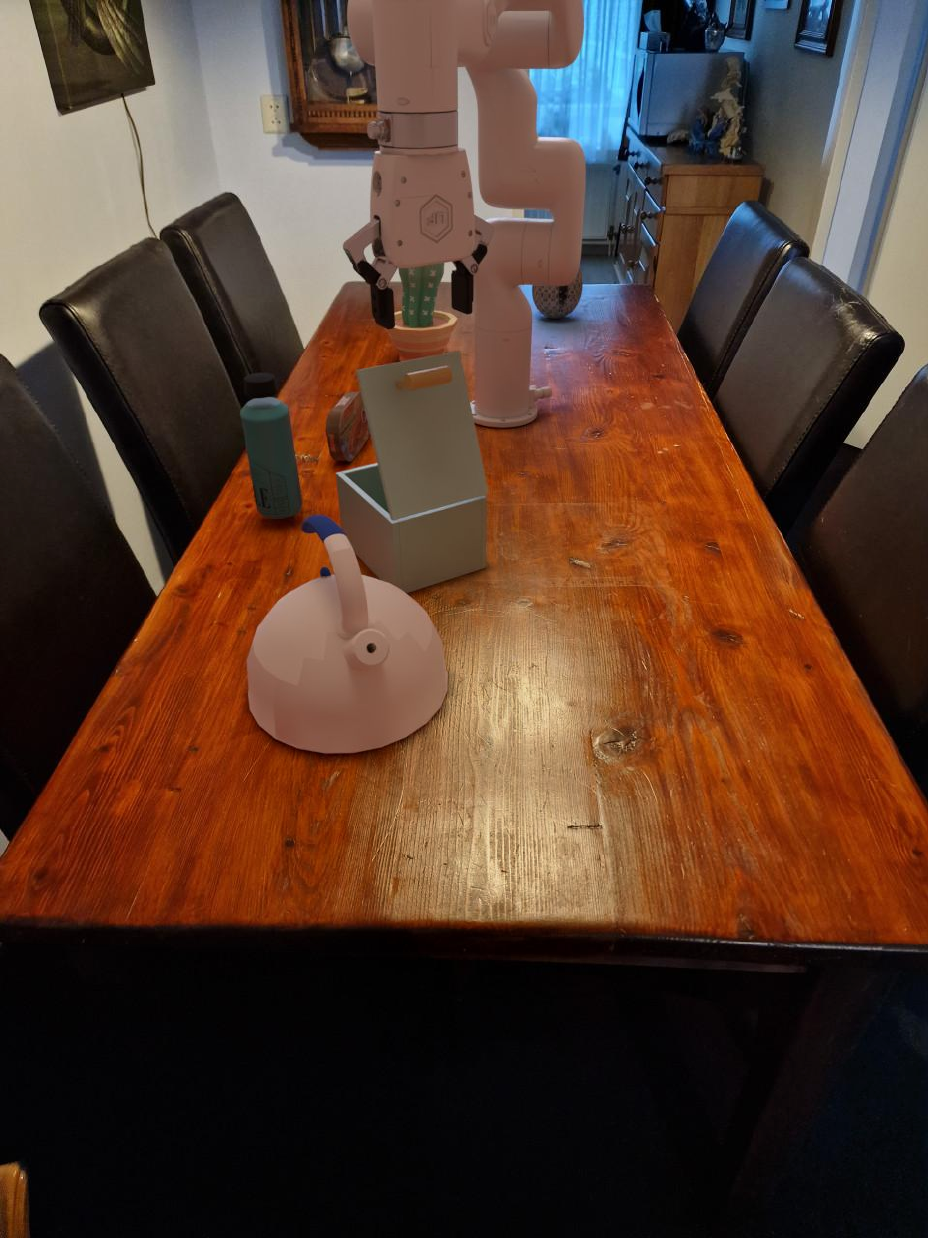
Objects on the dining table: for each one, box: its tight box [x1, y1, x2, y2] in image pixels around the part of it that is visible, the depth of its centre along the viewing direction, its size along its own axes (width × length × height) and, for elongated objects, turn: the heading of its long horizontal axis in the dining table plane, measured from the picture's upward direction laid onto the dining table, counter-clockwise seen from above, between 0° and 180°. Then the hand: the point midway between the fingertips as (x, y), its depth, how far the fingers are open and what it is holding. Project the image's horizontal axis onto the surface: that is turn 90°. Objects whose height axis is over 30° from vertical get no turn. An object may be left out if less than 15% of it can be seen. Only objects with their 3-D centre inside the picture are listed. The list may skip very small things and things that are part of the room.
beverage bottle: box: [239, 372, 303, 520], centre depth 107 cm, size 6×7×20 cm
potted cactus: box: [382, 263, 458, 362], centre depth 162 cm, size 15×15×25 cm
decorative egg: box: [531, 266, 584, 320], centre depth 190 cm, size 12×12×15 cm
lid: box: [355, 350, 489, 520], centre depth 90 cm, size 16×13×5 cm
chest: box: [335, 462, 488, 594], centre depth 102 cm, size 16×13×10 cm
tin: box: [325, 391, 371, 463], centre depth 129 cm, size 15×3×8 cm, turn 168°
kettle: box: [246, 514, 449, 754], centre depth 78 cm, size 20×21×18 cm
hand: (424, 318), depth 87 cm, fingers open, 9 cm apart
